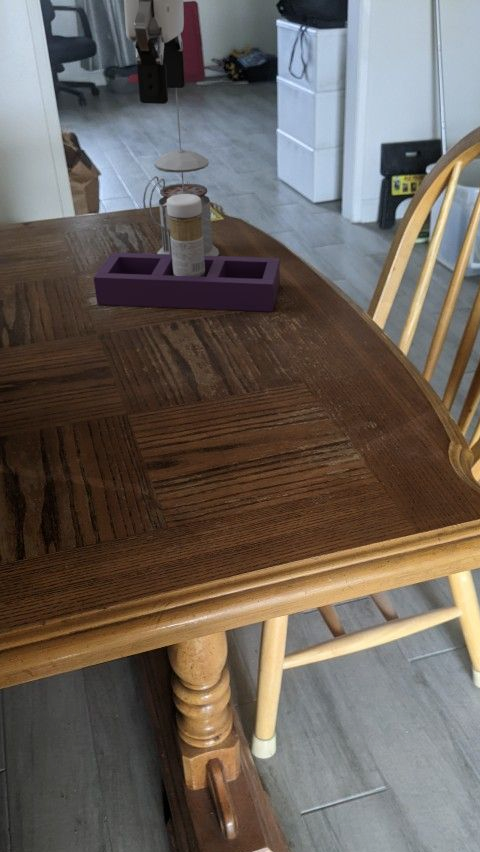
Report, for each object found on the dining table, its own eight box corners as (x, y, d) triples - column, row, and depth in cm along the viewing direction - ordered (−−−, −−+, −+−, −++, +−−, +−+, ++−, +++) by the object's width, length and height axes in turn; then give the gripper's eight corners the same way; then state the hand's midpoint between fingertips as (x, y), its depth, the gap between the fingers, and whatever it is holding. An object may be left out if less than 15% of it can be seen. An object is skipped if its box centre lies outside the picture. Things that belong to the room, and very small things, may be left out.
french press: (231, 254, 122) (225, 77, 107) (170, 273, 116) (154, 89, 101) (195, 237, 128) (184, 68, 113) (135, 254, 122) (114, 78, 107)
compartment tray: (273, 312, 105) (272, 283, 103) (97, 304, 108) (93, 277, 105) (279, 284, 113) (279, 258, 110) (115, 278, 115) (111, 252, 113)
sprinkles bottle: (197, 285, 113) (191, 190, 105) (212, 296, 110) (207, 199, 101) (168, 292, 111) (160, 196, 103) (183, 304, 108) (175, 205, 100)
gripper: (136, -82, 91) (149, 81, 101) (93, -80, 77) (113, 108, 87) (200, -82, 90) (206, 82, 100) (168, -80, 76) (179, 110, 86)
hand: (163, 94), depth 94 cm, fingers open, 9 cm apart
